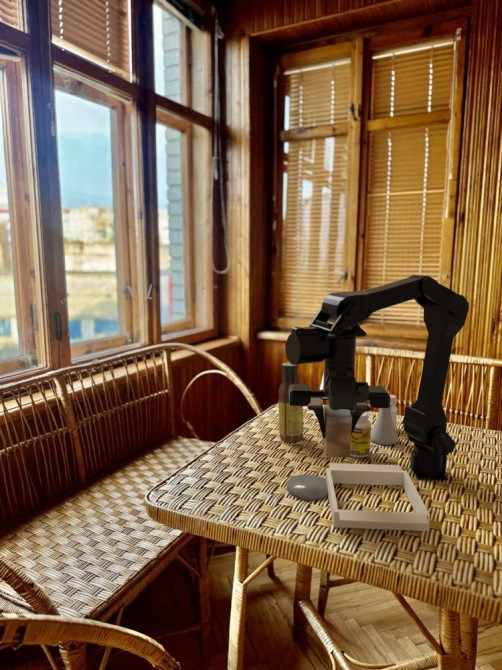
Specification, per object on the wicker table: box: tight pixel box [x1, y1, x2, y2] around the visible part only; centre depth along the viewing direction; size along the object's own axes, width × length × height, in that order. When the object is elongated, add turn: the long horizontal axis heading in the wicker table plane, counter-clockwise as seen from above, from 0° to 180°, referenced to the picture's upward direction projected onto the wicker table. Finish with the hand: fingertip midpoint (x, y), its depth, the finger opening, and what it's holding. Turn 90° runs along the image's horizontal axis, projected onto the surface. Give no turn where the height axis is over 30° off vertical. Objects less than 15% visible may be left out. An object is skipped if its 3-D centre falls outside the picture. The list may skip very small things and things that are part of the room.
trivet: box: [286, 474, 328, 501], centre depth 98 cm, size 9×9×1 cm
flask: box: [370, 402, 400, 446], centre depth 121 cm, size 7×7×10 cm
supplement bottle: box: [350, 412, 372, 459], centre depth 113 cm, size 6×6×10 cm
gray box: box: [322, 404, 352, 459], centre depth 92 cm, size 4×6×8 cm
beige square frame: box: [325, 462, 431, 532], centre depth 92 cm, size 17×21×3 cm
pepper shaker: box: [389, 394, 398, 431], centre depth 128 cm, size 4×4×10 cm
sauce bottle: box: [278, 361, 304, 443], centre depth 121 cm, size 7×6×20 cm
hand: (336, 437), depth 93 cm, fingers closed on gray box, 4 cm apart
